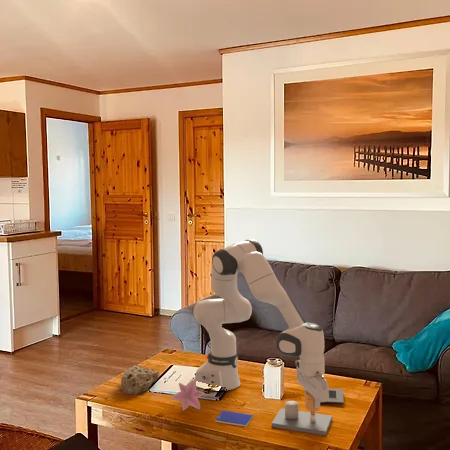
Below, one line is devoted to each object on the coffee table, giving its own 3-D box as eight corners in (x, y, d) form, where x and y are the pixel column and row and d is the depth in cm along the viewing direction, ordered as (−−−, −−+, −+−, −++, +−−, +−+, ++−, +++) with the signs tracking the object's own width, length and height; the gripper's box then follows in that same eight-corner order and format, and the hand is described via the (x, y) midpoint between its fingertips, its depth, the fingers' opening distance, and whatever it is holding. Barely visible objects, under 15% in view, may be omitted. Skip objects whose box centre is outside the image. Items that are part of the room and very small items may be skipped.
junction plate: (271, 426, 194) (271, 408, 193) (280, 411, 206) (280, 394, 205) (325, 435, 187) (325, 416, 186) (332, 419, 199) (332, 401, 198)
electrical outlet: (343, 407, 210) (343, 401, 210) (316, 405, 212) (316, 399, 212) (342, 393, 223) (342, 388, 222) (317, 392, 225) (317, 387, 224)
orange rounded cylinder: (304, 409, 193) (303, 396, 193) (308, 404, 197) (308, 391, 197) (317, 412, 191) (317, 398, 190) (321, 406, 195) (321, 393, 195)
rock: (130, 378, 246) (135, 358, 246) (159, 388, 243) (164, 367, 243) (112, 391, 226) (117, 369, 225) (143, 402, 223) (148, 379, 222)
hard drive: (215, 418, 199) (246, 424, 194) (223, 409, 207) (252, 414, 202) (215, 422, 199) (246, 428, 195) (223, 413, 207) (253, 418, 202)
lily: (168, 411, 211) (171, 395, 206) (177, 389, 221) (180, 374, 216) (196, 421, 210) (200, 405, 205) (204, 398, 220) (208, 383, 215)
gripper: (333, 376, 183) (333, 414, 185) (308, 357, 203) (308, 392, 204) (316, 378, 182) (317, 417, 183) (293, 359, 201) (293, 394, 203)
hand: (312, 403), depth 194 cm, fingers closed on orange rounded cylinder, 5 cm apart
